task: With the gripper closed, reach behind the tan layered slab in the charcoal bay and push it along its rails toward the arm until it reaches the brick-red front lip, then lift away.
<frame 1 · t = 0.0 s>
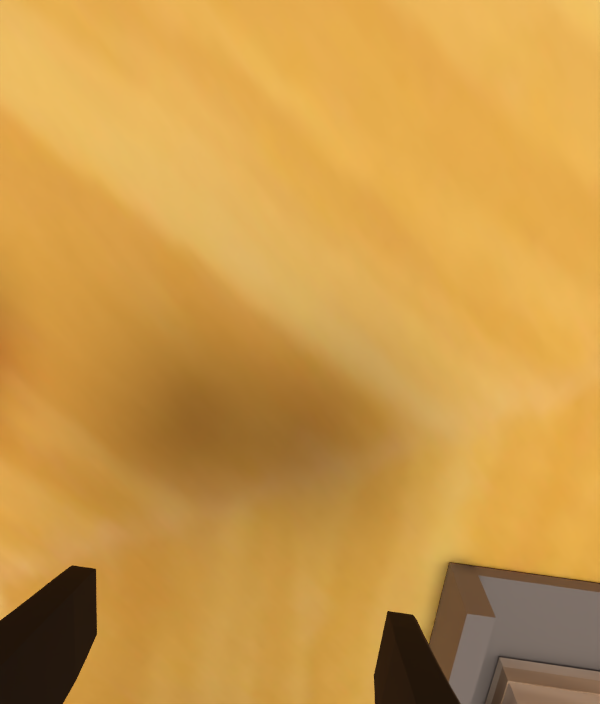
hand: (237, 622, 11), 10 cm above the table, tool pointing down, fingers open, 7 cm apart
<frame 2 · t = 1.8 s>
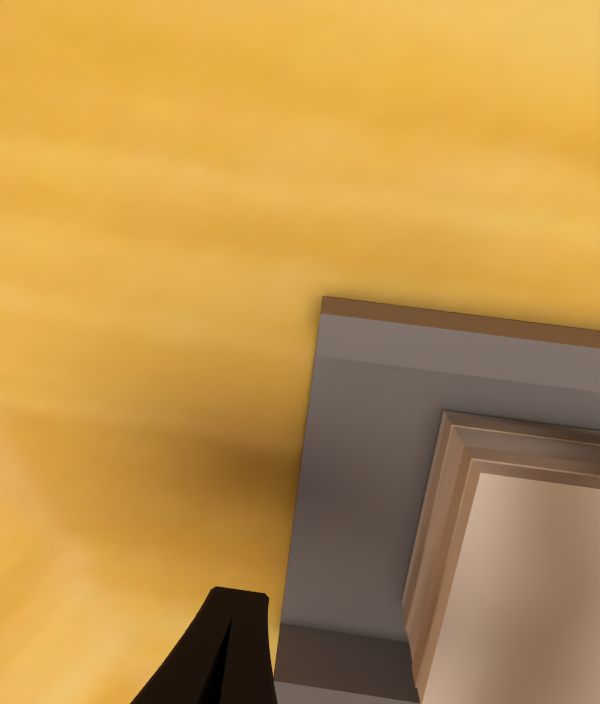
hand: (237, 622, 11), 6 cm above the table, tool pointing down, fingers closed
bay: (579, 523, 17), on the table
tan layered slab: (527, 564, 14), point 3 cm above the table, slide at 0.0 cm
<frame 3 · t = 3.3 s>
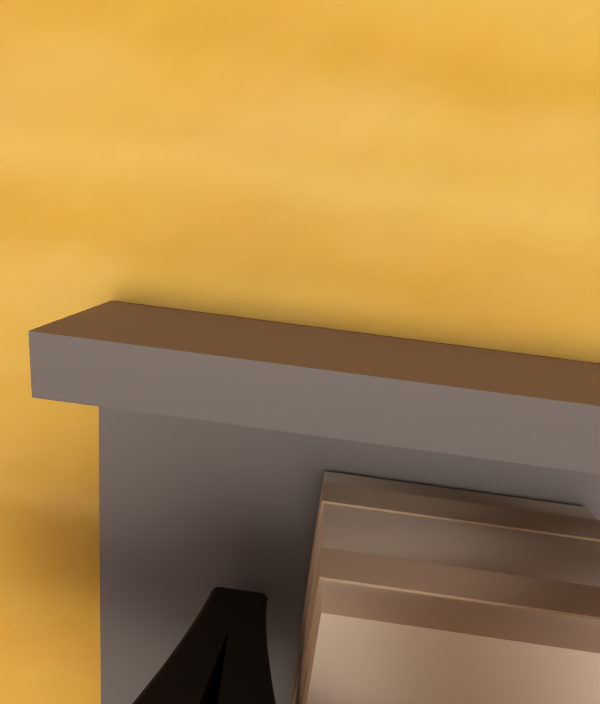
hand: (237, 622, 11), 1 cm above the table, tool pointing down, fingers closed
bay: (494, 615, 12), on the table
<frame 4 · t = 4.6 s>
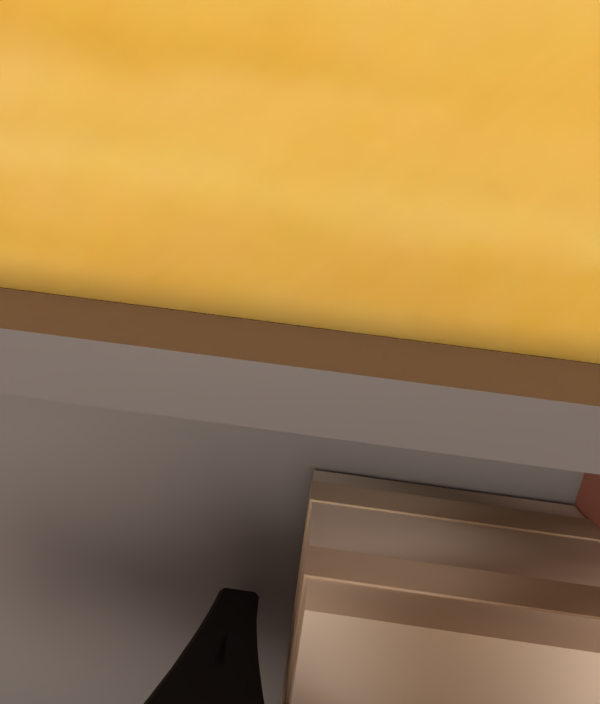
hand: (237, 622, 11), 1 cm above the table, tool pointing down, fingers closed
bay: (226, 576, 13), on the table
tan layered slab: (427, 703, 10), point 3 cm above the table, slide at 8.0 cm, touching bay, gripper
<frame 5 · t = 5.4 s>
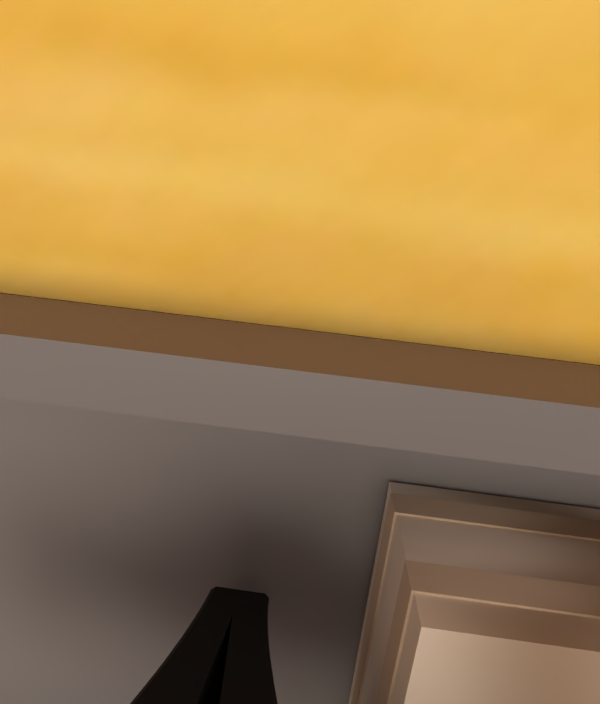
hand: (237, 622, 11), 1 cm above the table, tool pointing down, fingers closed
bay: (291, 586, 13), on the table
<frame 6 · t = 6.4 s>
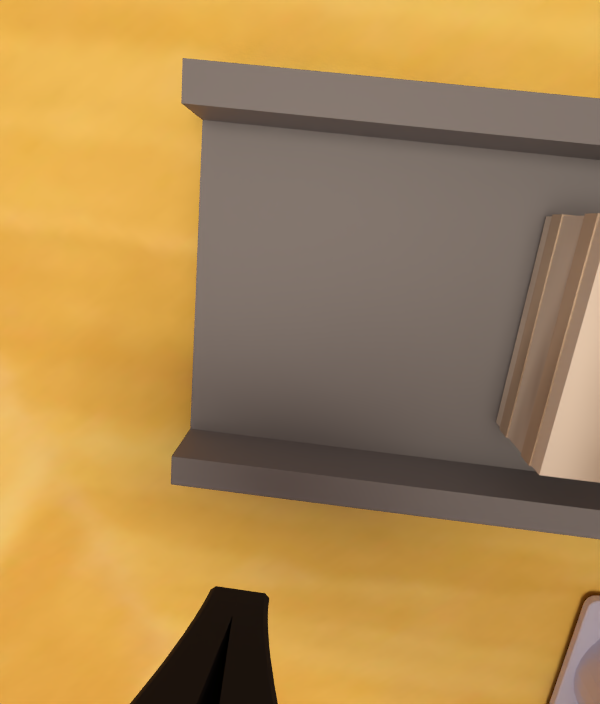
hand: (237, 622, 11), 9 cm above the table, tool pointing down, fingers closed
bay: (462, 316, 18), on the table
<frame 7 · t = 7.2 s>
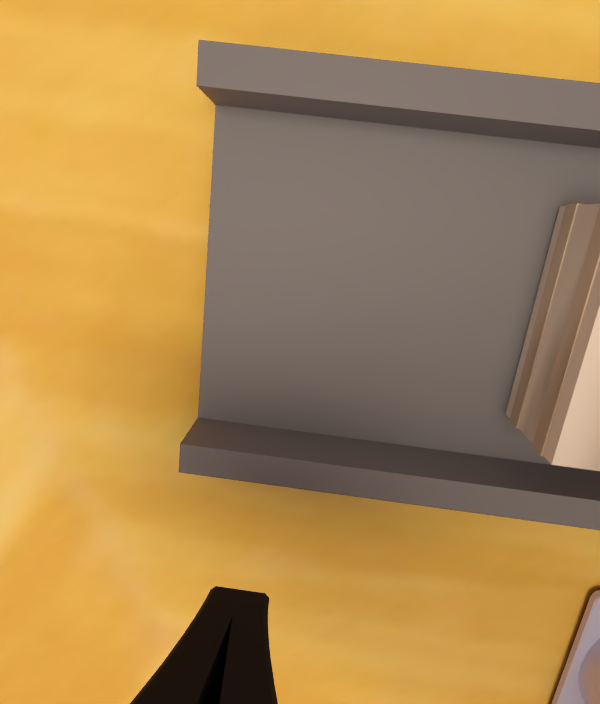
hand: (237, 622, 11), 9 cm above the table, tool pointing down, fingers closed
bay: (473, 306, 18), on the table
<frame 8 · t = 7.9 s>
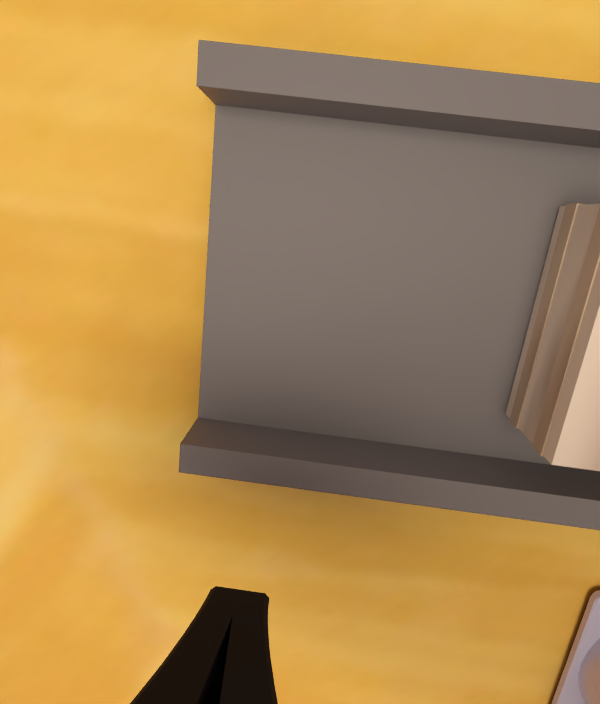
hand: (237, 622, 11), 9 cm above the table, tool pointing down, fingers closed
bay: (473, 306, 18), on the table
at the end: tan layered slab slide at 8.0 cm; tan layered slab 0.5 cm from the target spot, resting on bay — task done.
